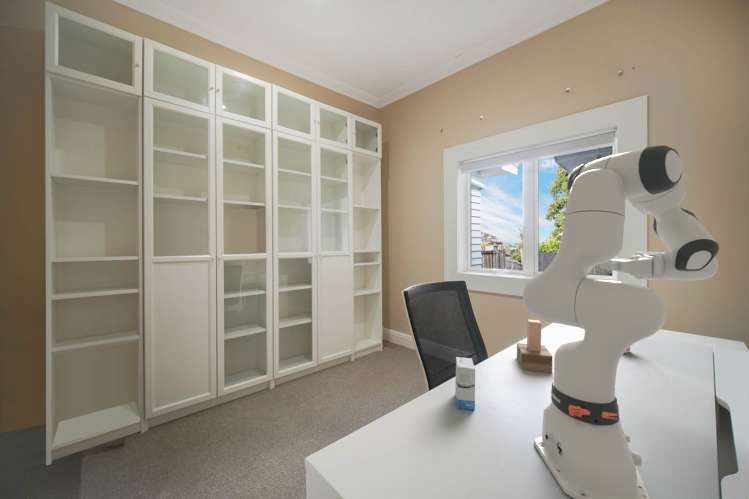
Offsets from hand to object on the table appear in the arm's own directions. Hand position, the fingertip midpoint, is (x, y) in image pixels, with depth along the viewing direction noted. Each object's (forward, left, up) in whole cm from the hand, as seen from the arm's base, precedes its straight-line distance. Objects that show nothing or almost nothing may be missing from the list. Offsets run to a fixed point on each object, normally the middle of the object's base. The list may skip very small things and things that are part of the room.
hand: (593, 264), depth 100 cm
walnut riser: (+12, +15, -40) cm, 44 cm away
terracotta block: (+12, +15, -34) cm, 39 cm away
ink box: (-25, +40, -40) cm, 62 cm away
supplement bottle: (+42, -25, -40) cm, 63 cm away
